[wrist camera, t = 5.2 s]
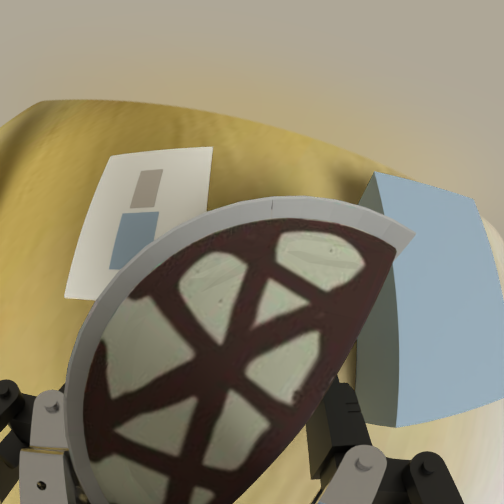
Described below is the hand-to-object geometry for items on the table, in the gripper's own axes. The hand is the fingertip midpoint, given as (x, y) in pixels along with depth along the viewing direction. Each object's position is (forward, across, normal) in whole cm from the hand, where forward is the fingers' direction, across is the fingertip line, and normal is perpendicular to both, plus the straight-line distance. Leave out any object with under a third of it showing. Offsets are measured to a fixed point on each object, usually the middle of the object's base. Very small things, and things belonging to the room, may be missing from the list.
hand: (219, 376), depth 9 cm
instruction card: (+11, +8, -4) cm, 14 cm away
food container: (+4, 0, +3) cm, 5 cm away
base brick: (+7, -12, 0) cm, 14 cm away
